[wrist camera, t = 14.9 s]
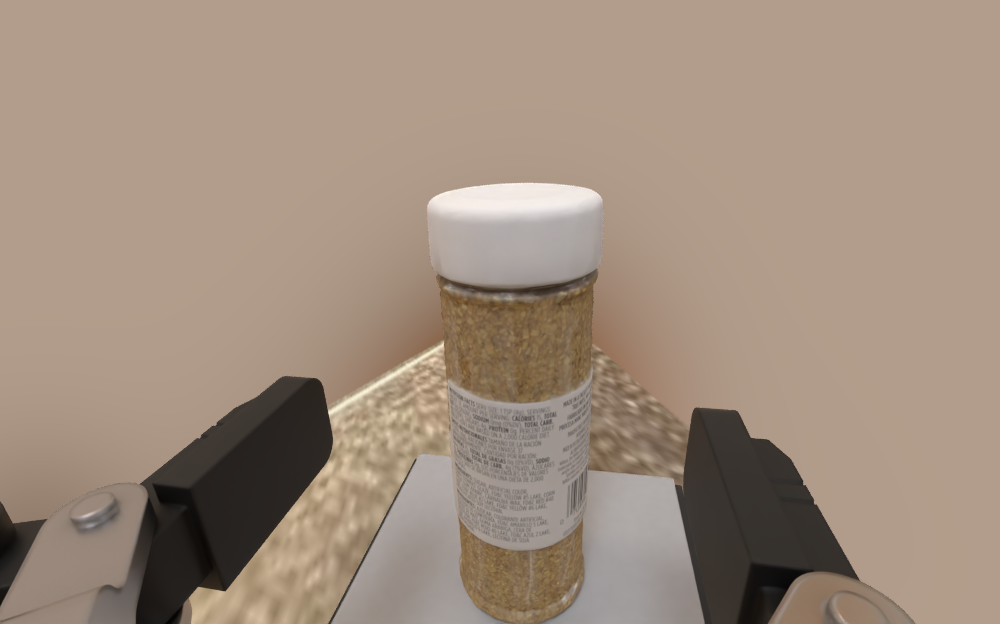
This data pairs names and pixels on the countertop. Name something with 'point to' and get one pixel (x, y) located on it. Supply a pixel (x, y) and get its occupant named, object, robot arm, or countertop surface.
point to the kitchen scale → (605, 546)
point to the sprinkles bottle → (518, 385)
